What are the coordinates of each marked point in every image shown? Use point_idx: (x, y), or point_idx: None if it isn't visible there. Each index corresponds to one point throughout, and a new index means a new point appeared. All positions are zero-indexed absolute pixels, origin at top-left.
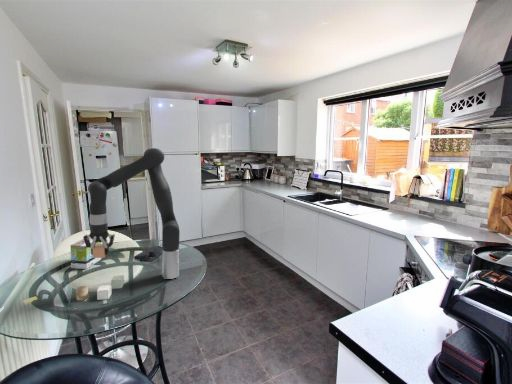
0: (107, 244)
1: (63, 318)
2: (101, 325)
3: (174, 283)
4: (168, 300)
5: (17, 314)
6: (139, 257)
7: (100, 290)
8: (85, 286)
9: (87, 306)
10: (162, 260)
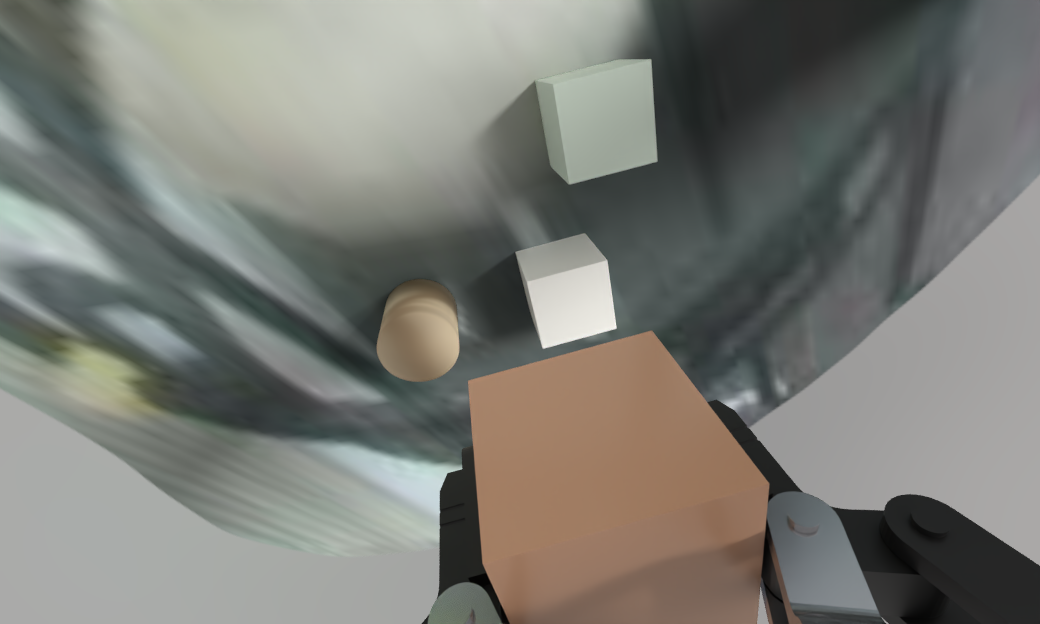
0: (834, 574)
1: None
2: None
3: (1033, 3)
4: (943, 250)
5: (207, 487)
6: None
7: (564, 341)
8: (422, 319)
9: None
10: None
